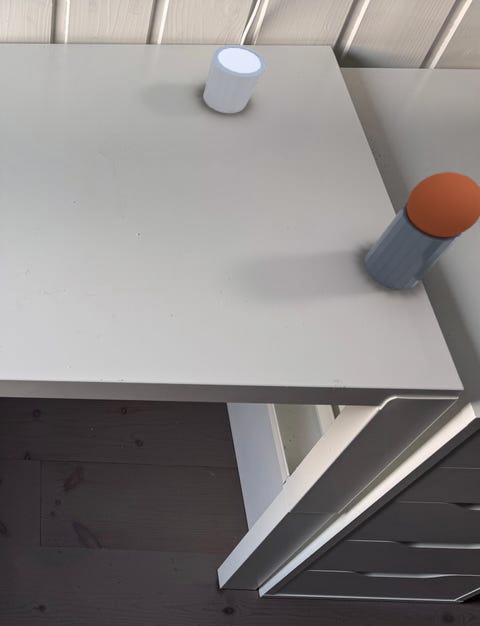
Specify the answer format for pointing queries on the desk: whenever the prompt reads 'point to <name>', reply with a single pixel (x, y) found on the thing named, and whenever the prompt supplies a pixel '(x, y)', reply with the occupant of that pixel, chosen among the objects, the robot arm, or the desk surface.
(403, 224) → the cup
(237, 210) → the desk surface
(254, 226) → the desk surface
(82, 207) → the desk surface
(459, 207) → the ball
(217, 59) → the white cylinder
